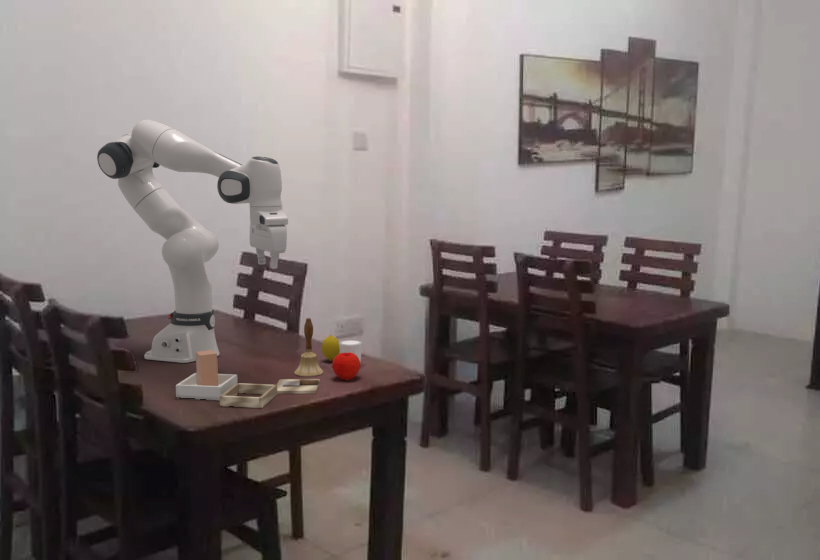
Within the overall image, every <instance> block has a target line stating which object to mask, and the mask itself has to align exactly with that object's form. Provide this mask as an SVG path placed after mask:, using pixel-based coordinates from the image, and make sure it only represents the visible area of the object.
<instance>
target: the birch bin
mask: <svg viewBox="0 0 820 560" xmlns="http://www.w3.org/2000/svg"><path fill="white" fill-rule="evenodd" d="M238 393H239V394H243V393H246V395H248V394H249V395H260V396H237V395H239V394H238ZM277 395H278V394H277V384H267V383H266V384H265V383H264V384H263V383H245V382H244V383H243V382H241V383H240V382H239V383H238V382H237V383H236V384H235V385H234V386H232V387H231V388H230V389H228V390H227V391H226V392H225V393H223V394H222V395H221V396H220V400H219V406H220V407H229V406H234V408H252V409H263V408H264V407H265V406H266V405H268V403H270V402H271V400H273V398H275V397H276V396H277Z"/></svg>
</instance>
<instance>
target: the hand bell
mask: <svg viewBox="0 0 820 560" xmlns="http://www.w3.org/2000/svg"><path fill="white" fill-rule="evenodd" d="M313 325H314V324H313V322H312V318H311V317H307V318H306V319H305V323H304V326H303V333H304V338H305V352H304V353H301V354H300V361H299V365H298V366H297V368H296V369H294V375H296V376H299V377H306V378H309V377H318V376H321V375H323V374H324V370H323V368H321V367H320V365H319V362H318V357H317V353H314V352H313V351H312V348H313V347H312V345H313V344H312V340H313V339H312V338H313V335H314V326H313Z"/></svg>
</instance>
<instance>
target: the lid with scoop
mask: <svg viewBox="0 0 820 560" xmlns="http://www.w3.org/2000/svg"><path fill="white" fill-rule="evenodd" d="M278 379H279V378H278ZM320 381H321V379H320V378H303V379H301V378H293V379H291V378H288V379H287V378H286V379H285V378H283V379H282V378H281V379H279V380H278V382H276V385H277V395H279V394H282V395H283V394H285V395H291V394H294V395H295V394H300V395H301V394H304V395H305V394H308V395H309V394H311V395H312V394H317V391H318V389H319V385H320V383H321V382H320Z"/></svg>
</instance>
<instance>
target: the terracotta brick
mask: <svg viewBox="0 0 820 560" xmlns="http://www.w3.org/2000/svg"><path fill="white" fill-rule="evenodd" d="M195 362H196V363H195V366H196V367H195V368H196V370H195V371H196V373H197V385H203V386H218V374H219V371H218V370H219V369H218V368H219V367H218V356H217V353H216V352H214V351H213V350H207V351H199V352H196V361H195Z"/></svg>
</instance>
